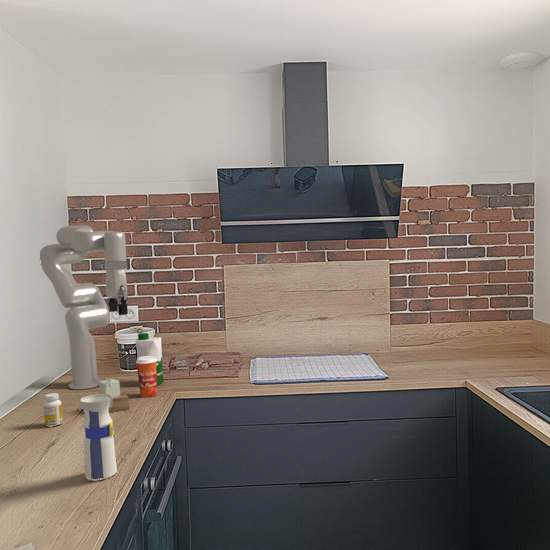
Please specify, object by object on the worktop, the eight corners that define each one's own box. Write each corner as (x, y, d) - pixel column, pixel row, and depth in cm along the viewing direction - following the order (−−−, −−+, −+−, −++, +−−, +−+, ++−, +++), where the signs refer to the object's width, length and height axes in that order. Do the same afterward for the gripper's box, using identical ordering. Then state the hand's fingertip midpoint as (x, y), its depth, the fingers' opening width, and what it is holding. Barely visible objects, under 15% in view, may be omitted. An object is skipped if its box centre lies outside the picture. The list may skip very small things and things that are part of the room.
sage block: (100, 396, 210) (99, 381, 210) (114, 393, 213) (113, 378, 213) (106, 398, 206) (105, 384, 206) (120, 395, 209) (119, 381, 209)
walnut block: (93, 409, 212) (92, 395, 212) (123, 404, 217) (122, 390, 216) (98, 416, 203) (97, 401, 203) (129, 411, 208) (128, 396, 207)
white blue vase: (122, 466, 157) (115, 370, 155) (114, 480, 149) (107, 378, 147) (89, 468, 157) (82, 372, 155) (80, 482, 149) (72, 380, 147)
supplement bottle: (57, 421, 200) (54, 391, 199) (66, 423, 196) (64, 393, 195) (41, 425, 195) (39, 395, 195) (51, 428, 192) (48, 397, 191)
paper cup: (138, 399, 221) (135, 360, 220) (137, 394, 228) (134, 356, 227) (160, 396, 223) (158, 358, 222) (158, 391, 230) (156, 354, 229)
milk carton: (145, 381, 247) (142, 332, 246) (166, 381, 246) (163, 331, 244) (136, 387, 239) (132, 335, 237) (158, 387, 237) (154, 335, 236)
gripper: (97, 265, 227) (100, 311, 229) (114, 268, 213) (116, 317, 215) (117, 264, 231) (119, 309, 233) (135, 266, 217) (137, 314, 219)
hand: (118, 313), depth 224 cm, fingers open, 9 cm apart
